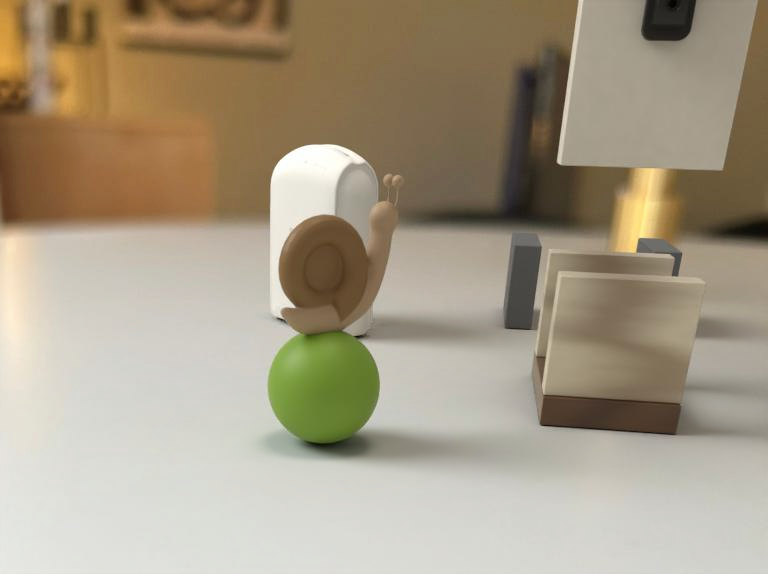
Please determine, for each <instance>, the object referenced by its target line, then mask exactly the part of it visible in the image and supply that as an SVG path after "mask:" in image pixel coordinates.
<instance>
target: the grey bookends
mask: <svg viewBox="0 0 768 574" xmlns="http://www.w3.org/2000/svg"><path fill="white" fill-rule="evenodd" d="M542 249H543V246H542V244H541V241H540V238H539V236H538V233H536V232H516V231H515V232H514V231H513V232H512V233H511V240H510V247H509V257H508V265H507V274H506V282H505V290H504V299H503V307H502V309H503V322H504V328H505V329H517V330H518V329H519V330H531V329H532V325H533V318H534V317H533V315H534V310H535V302H536V295H537V287H538V279H539V272H540V264H541V256H542ZM635 253H655V254H670V255H671V256H673V257H674V258H675V260H674V266H673V271H672V276H675V277H679V274H680V269H681V263H682V258H683V252H682V251H681V250H680V249H678V248H677V247H675V246H674V245H673V244H671V243H670V242H668V241H667V240H666V239H664V238H654V237H653V238H652V237H651V238H650V237H638V239H637V244H636V249H635Z"/></svg>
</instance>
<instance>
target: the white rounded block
mask: <svg viewBox="0 0 768 574" xmlns="http://www.w3.org/2000/svg"><path fill="white" fill-rule="evenodd" d="M269 190H270V195H269V196H270V201H269V211H270V212H269V308H270V313H271V315H272V316H274V317H276V318H279V319H281V320H284V319H283V317H282V315H281V313H280V311H281V309H282V308H285V307H290V308H295V306H294V305H293V304H292V303H291V302H290V300H289V299H288V298H287V297H286V295H285V294H284V292H283V290H282V288H281V284H280V281H279V273H278V266H279V258H280V254H281V250H282V247H283V245H284V243H285V241H286V239H287V237H288V236H289V234H290V233H291V232H292V230H293V229H294V228H295V227H296V226H297V225H299V224H300V223H301V222H303V221H304V220H306V219H308V218H310V217H313V216H317V215H323V214H326V215H334V216H337V217H340V218H342V219H344V220H345V221H347V222H348V223H350V224H351V225H352V226H353V227H354V228H355V229H356V230H357V232H358V233H359V235H360V237H361V238H362V240H363V243H364V246H365V249H366V247H367V243H368V239H369V235H370V224H369V215H370V212H371V210H372V208H373V207H374V206H375V205H376V204H377V203H379V182H378V177H377V175H376V172H375V170H374V168H373V167H372V166H371V164H370V163H369V162H368V161H367V160H366V159H365V158H363V157H362V156H361V155H359V154H358V153H357V152H354V151H353V150H351V149H348V148H346V147H343V146H341V145H338V144H331V143H330V144H328V143H327V144H307V145H304V146H303V145H302V146H301V147H298V148H295V149H293V150H292V151H290V152H288V153H287V154H286V155H284V156H283V157H282V158H281V159H280V160H279V161H278V162H277V164H276V165H275V167H274V169H273V170H272V175H271V179H270V189H269ZM373 310H374V303H373V304H372V306H371V307H370V309H369V310H368V311H367V312H366V313H365V314H364V315H363V316H362V317H361V318H360V319H358V320H357V321H355V322H354V323H353V324H351V325H350V326H348V327H347V328H345V329H344V330H342V331H344V332H347V333H349V334H351V335H352V336H354V337H357V336H363V335H365V334H366V333H367V331H370V330H371V327H372V323H373V322H372V321H373V312H374V311H373Z"/></svg>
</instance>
